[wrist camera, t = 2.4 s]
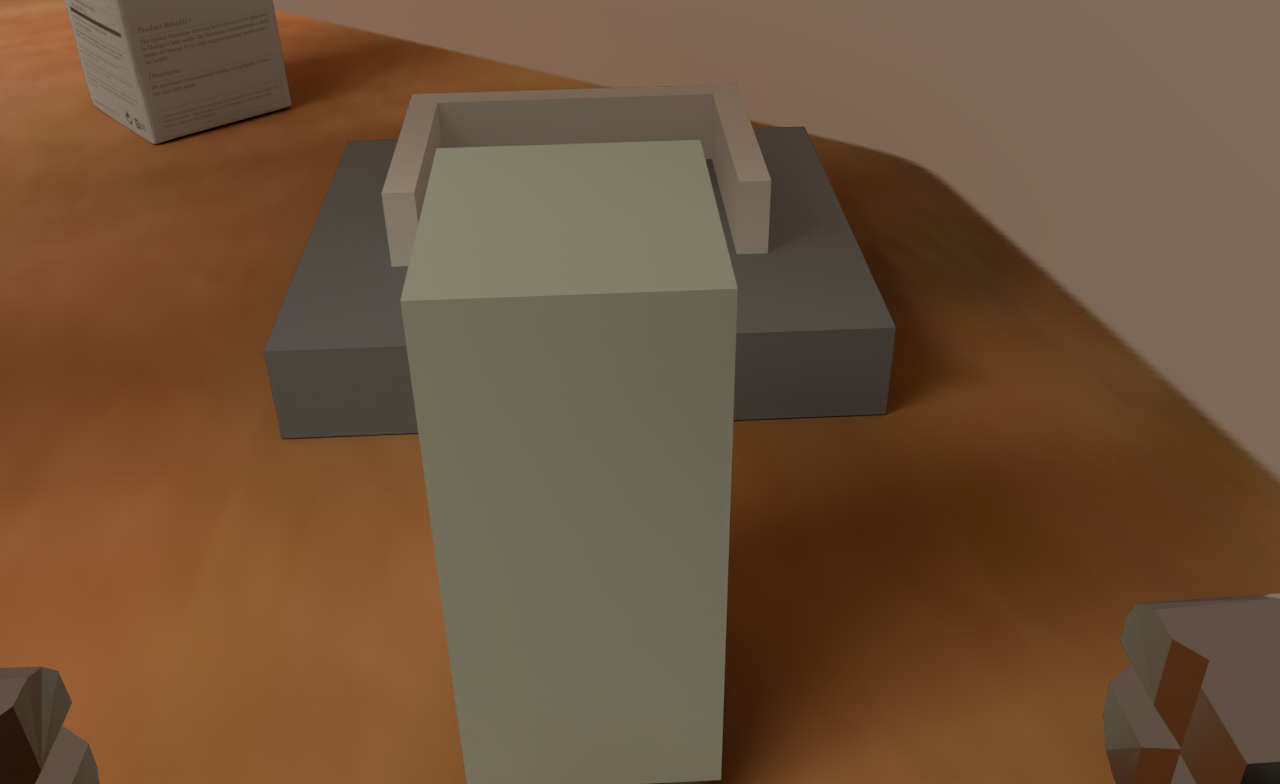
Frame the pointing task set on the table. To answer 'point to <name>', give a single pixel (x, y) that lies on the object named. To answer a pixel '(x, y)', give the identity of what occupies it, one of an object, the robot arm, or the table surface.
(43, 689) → the robot arm
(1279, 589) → the table surface
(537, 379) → the pale green footed pillar
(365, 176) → the dock
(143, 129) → the supplement box
